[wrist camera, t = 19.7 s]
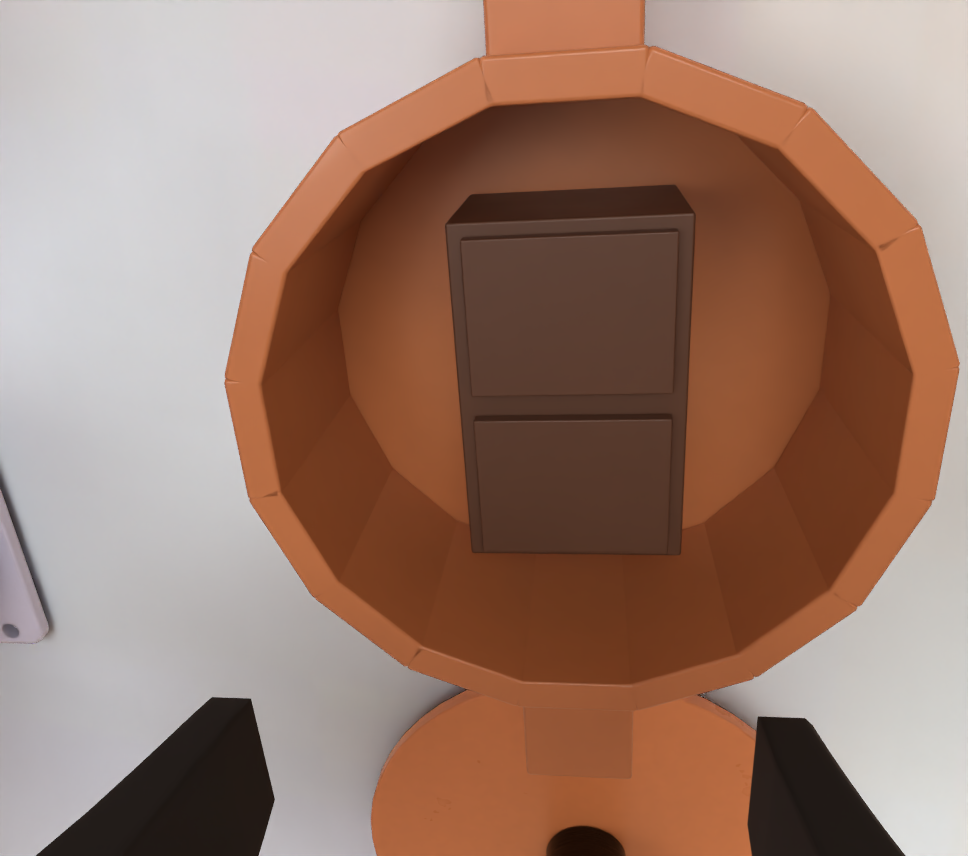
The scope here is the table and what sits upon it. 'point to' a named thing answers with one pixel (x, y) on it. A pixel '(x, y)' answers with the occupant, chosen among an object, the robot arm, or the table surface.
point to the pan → (711, 389)
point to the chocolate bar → (573, 367)
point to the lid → (565, 788)
